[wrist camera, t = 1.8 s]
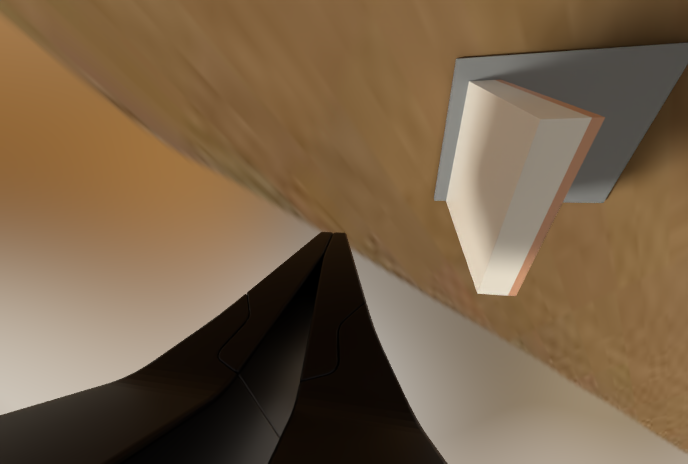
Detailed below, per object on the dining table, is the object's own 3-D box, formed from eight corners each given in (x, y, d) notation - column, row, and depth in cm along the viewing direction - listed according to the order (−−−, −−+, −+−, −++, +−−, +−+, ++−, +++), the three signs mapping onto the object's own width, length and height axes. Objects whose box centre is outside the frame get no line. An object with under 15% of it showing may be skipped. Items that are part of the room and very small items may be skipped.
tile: (500, 79, 13) (604, 117, 7) (469, 201, 17) (515, 296, 11) (468, 81, 13) (540, 119, 7) (446, 200, 17) (477, 293, 11)
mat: (694, 41, 11) (701, 42, 11) (599, 200, 16) (603, 202, 16) (456, 58, 13) (457, 58, 13) (433, 198, 18) (434, 200, 17)
